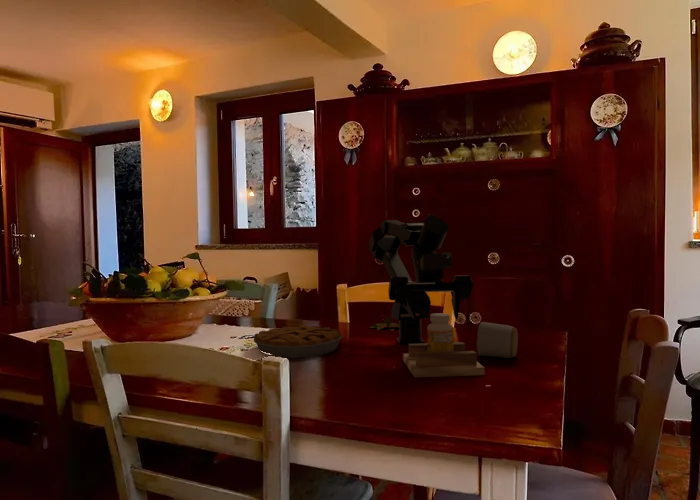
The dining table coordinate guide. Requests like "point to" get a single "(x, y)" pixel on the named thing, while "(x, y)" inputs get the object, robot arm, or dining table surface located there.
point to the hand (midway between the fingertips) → (435, 318)
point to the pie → (298, 341)
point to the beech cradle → (442, 361)
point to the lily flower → (386, 324)
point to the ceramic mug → (497, 340)
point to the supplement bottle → (440, 333)
